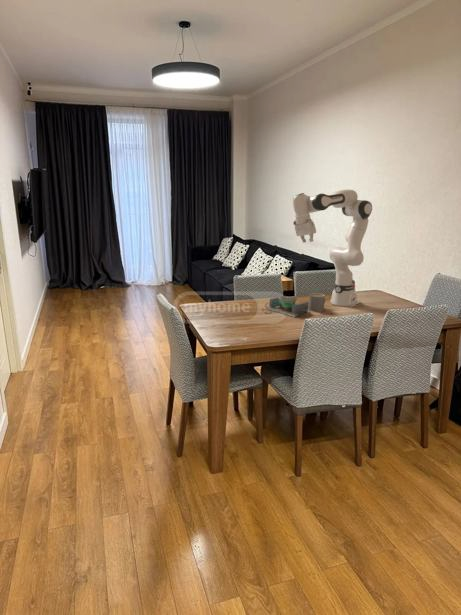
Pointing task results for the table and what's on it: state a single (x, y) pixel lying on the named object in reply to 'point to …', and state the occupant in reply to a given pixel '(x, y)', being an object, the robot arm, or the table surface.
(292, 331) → the table surface
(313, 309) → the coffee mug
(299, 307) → the vise
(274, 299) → the vise free jaw
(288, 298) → the food container
